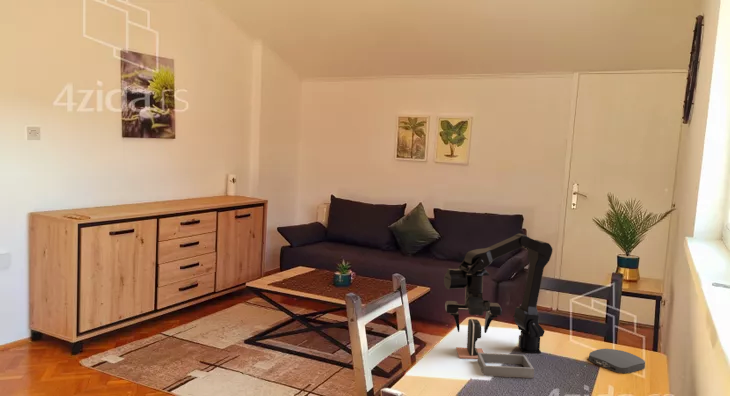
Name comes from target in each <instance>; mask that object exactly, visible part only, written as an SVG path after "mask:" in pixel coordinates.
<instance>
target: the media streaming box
mask: <svg viewBox="0 0 730 396" xmlns="http://www.w3.org/2000/svg"><path fill="white" fill-rule="evenodd" d="M588 360H589V362H591V363H593V364H595V365H596V366H599V367H602V368H604V369H607V370H609V371H612V372H614V373H619V374H630V373H635V372H638V371H642V370H644V369H645V368H646V361H645V359H643V358H641V357H640V356H637V355H636V354H633V353H630V352H627V351H624V350H619V349H614V348H613V349H612V348H599V349H595V350H593V351H590V352H589V356H588Z"/></svg>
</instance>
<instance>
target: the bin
mask: <svg viewBox="0 0 730 396" xmlns="http://www.w3.org/2000/svg"><path fill="white" fill-rule="evenodd" d="M476 360H477V361H476V362H477V364H478V366H479V368H480V370H481V373H482V375H483V376H486V377H506V378H524V379H525V378H528V379H534V376H535V368H534V366H533V365H532V364H531V362H530V360H529V358H528V357H527V356H526V355H525V354H518V353H517V354H514V353H513V354H512V353H491V352H484V353H478V359H476ZM487 363H488V364H507V365H509V364H510V365H522V366H523V367H522V366H505V365H502V366H501V365H487Z"/></svg>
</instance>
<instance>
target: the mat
mask: <svg viewBox="0 0 730 396" xmlns="http://www.w3.org/2000/svg"><path fill="white" fill-rule="evenodd" d="M475 348H476V347H475ZM476 349H477V351H478V353H485V352H484V350H483V348H479V347H477V348H476ZM455 350H456V352H457V355H458V358H459V359H462V360H463V359H464V360H477V359H478V355H473V356H472V355H469V352H468V350H467V347H460V346H457V347H456V348H455Z"/></svg>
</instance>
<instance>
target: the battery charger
mask: <svg viewBox="0 0 730 396" xmlns="http://www.w3.org/2000/svg"><path fill="white" fill-rule="evenodd" d="M481 338H482V324H481V322H480V321H479V320H478V319H476V318H469V319H468V323H467V338H466V339H467V340H466V341H467V342H466V348H467V350H468V352H469V355H472V356H473V355H478V351H477V349H476V343H477V341H478V339H479V340H480V339H481Z"/></svg>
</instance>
